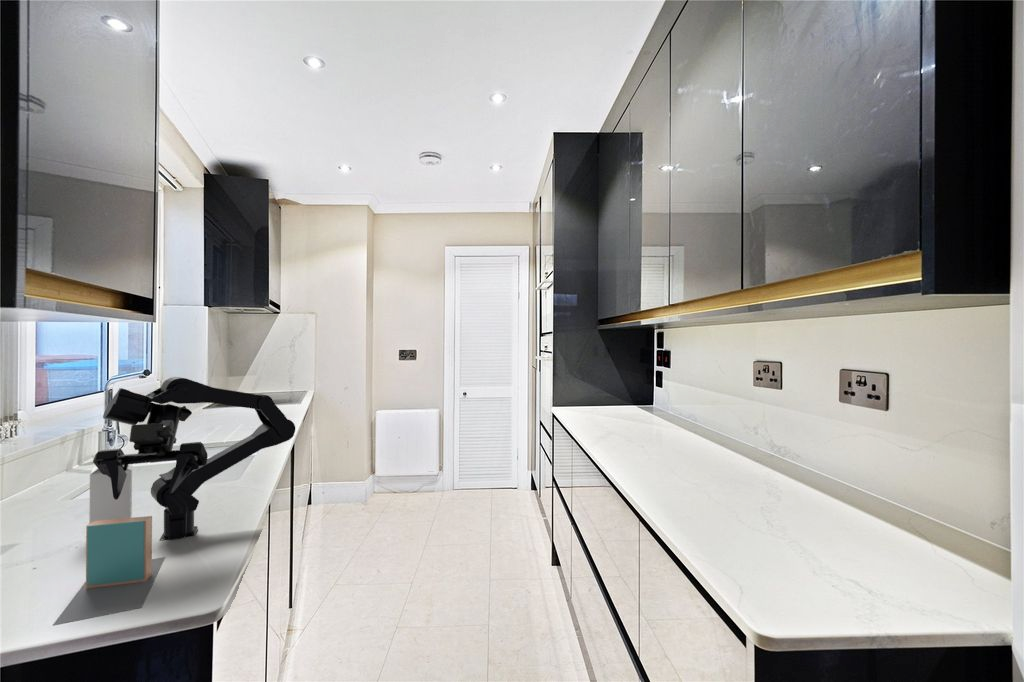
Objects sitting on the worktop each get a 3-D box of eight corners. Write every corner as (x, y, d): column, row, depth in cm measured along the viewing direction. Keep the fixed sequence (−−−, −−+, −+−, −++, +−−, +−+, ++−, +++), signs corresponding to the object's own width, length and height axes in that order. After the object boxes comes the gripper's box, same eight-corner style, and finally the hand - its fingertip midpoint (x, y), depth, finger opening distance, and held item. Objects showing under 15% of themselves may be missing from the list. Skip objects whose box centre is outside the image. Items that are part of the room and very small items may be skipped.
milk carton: (88, 543, 106) (89, 456, 106) (92, 532, 112) (93, 450, 112) (130, 535, 110) (130, 452, 110) (131, 526, 116) (132, 446, 116)
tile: (93, 581, 88) (94, 520, 88) (151, 574, 90) (152, 515, 90) (84, 589, 85) (85, 526, 85) (145, 582, 88) (145, 521, 88)
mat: (95, 571, 93) (95, 568, 93) (165, 559, 98) (165, 556, 98) (52, 629, 74) (52, 625, 74) (141, 611, 79) (141, 607, 79)
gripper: (95, 411, 98) (67, 481, 87) (201, 404, 104) (187, 469, 93) (114, 441, 105) (91, 509, 95) (212, 433, 111) (201, 496, 101)
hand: (143, 495), depth 96 cm, fingers open, 9 cm apart
